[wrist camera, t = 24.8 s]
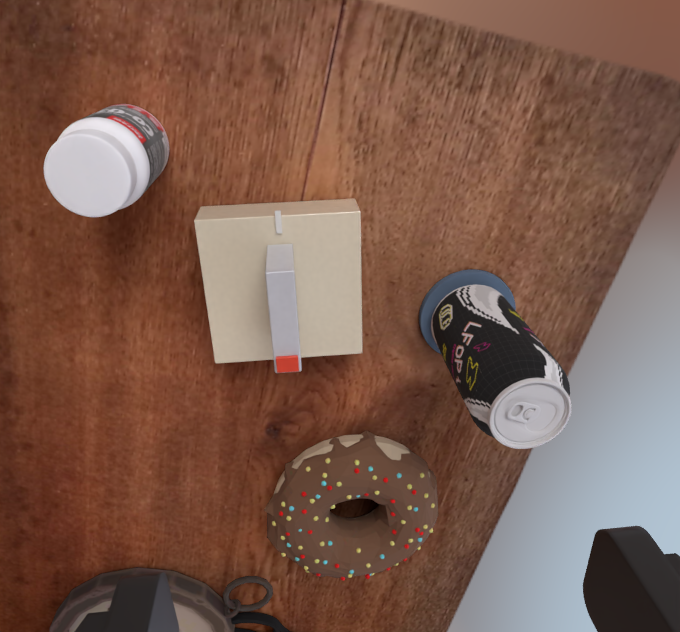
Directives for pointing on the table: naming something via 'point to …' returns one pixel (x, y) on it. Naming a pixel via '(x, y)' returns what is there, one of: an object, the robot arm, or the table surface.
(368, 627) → the table surface
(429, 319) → the coaster
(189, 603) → the compass
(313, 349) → the base
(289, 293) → the tap handle
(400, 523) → the donut
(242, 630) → the scissors
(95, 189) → the pill bottle
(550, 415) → the beverage can
